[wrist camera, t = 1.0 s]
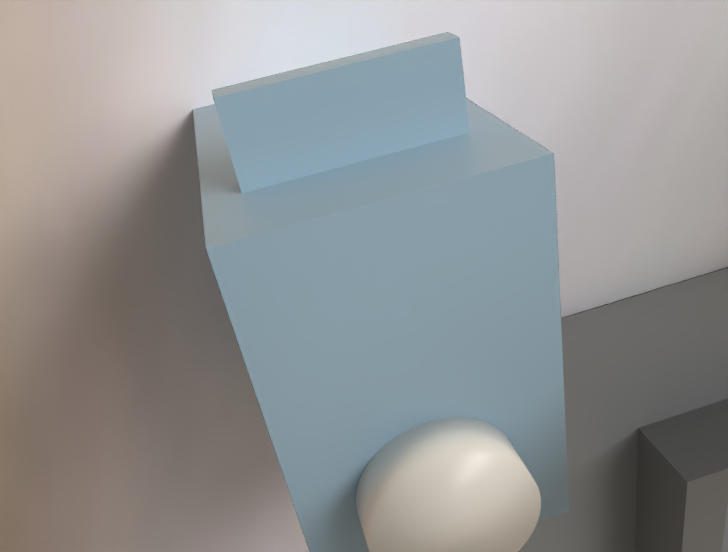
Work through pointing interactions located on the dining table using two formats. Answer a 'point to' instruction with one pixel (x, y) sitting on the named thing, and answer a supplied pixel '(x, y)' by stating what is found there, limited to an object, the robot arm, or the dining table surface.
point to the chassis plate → (646, 424)
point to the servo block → (392, 298)
